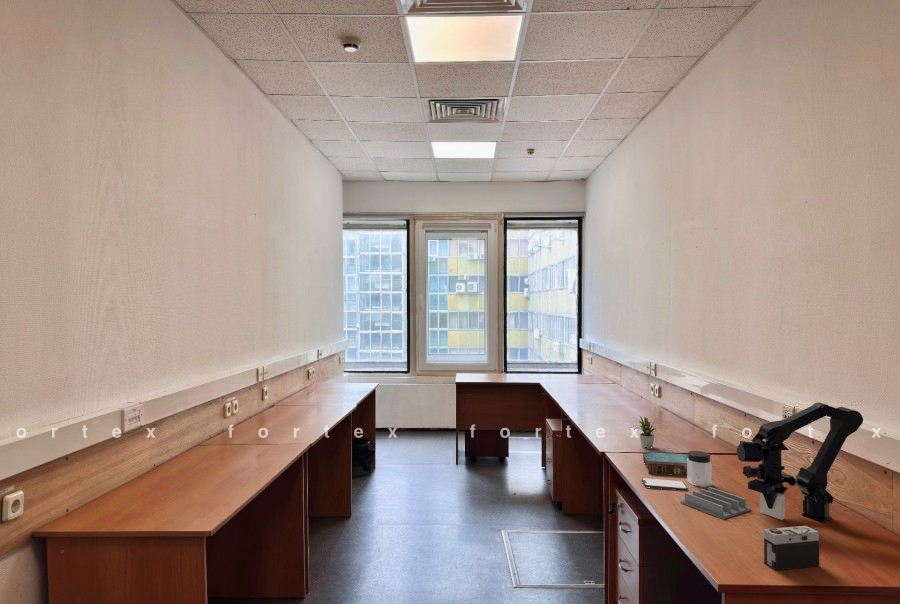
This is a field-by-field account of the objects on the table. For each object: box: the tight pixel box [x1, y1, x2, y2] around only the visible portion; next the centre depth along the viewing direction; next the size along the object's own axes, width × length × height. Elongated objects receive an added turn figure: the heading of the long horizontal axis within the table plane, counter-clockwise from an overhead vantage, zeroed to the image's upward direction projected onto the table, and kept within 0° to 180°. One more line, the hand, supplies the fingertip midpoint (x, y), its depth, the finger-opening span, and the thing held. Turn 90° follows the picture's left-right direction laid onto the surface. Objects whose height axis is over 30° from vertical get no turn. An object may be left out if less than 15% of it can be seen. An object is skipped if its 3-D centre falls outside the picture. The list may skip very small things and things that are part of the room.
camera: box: [763, 525, 820, 571], centre depth 140 cm, size 14×8×10 cm, turn 99°
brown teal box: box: [641, 451, 688, 477], centre depth 221 cm, size 23×18×5 cm
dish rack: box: [680, 486, 752, 520], centre depth 179 cm, size 16×16×4 cm
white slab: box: [759, 492, 786, 521], centre depth 171 cm, size 7×2×8 cm, turn 29°
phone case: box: [641, 477, 689, 491], centre depth 200 cm, size 9×2×16 cm
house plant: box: [631, 415, 659, 449], centre depth 257 cm, size 14×14×16 cm
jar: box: [686, 450, 713, 488], centre depth 203 cm, size 9×8×12 cm
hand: (772, 508), depth 171 cm, fingers closed on white slab, 2 cm apart
